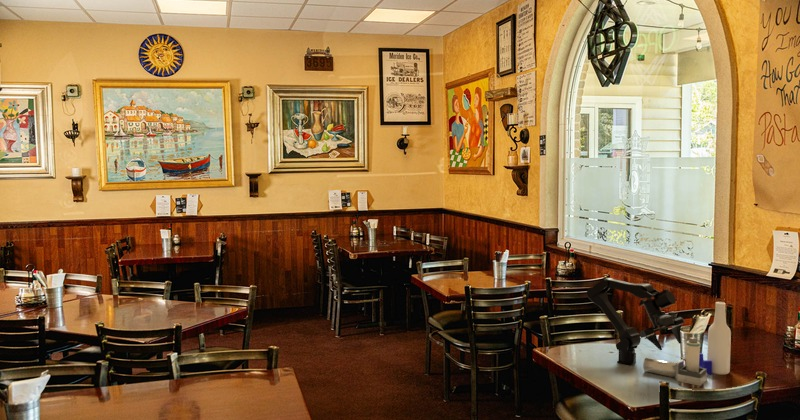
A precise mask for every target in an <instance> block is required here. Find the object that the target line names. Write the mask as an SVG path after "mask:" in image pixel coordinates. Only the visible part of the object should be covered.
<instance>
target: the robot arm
mask: <svg viewBox="0 0 800 420" xmlns="http://www.w3.org/2000/svg"><path fill="white" fill-rule="evenodd" d="M610 289H614V290H618V291H621V292H625V293H630V294H631V295H633V296H634V297H637V298H638V299H640V301H639V303H638V306H639V307H640V306H643V307H644V308H645V311H646V313H647V315H648V317H647V318H648V320H650V321H651V324H652V326H651V327H647V328H644V329H642V330H640V331H639V332H638V331H637V329H636V328H635V327H634V326H633V327H630V326H628V325H627V324H626V322H625V321H624V320H623V318H622V317H621V316H620V314H619V313H618V311H617V310H616V309H615V308H614V306H613V305H612V303H611V302H610V301H609V297H608V293H607V292H608V291H609V290H610ZM586 297H587V298H588V299H589V300H590V301H591V302H592V303H593V304H595V305H597V306H598V307H599V308H600V309H601V311H602V312H603V314H604V315H605V317H607V319H608V320H609V321H610V323H611V324H612V326H613V327H614V328H615V330H616V331H617V334H618V338H619V339H618V340H619V341H618V342H617V343H616V344H615V347H616V350H618V358H617V359H618V360H617V361H616V363H618V364H622V365H628V366H632V365H634V364H635V363H637V353H636V349H637V348H638V345H640V344H641V340H642V338H644V340H648V341H649V342H651V343H652V344H653V345H654V346H655V347H656V348H657V349H658V350H659V351H662V350H663V348H662V345H661V343H660V341H659V340H658V337H657V333H655V332H659V331H662V330H665V329H667V328H670V327H671V328H670V330H671V332H672V334H673V335H674V338H675V340H676V341H677V343H678V344H682V339H681V328H682V327H683V326H684V325H683V324H684V323H685V322H686V321H685V320H684V318H683V317H681V316H679V317H677V315H676V313H675V311H669V312H668V314H666V312H665V311H664V310H663V311H662V309H666V308H668V307H669V306H670V307H671V306H673V305H675V304H676V303H677V299H676V296H675V295H674V294H673V292H671V291H670V290H669V289H668V288H665V289H662V290H661V291H659V290H657V289H655V288H654V286H653V285H652V284H650V283H633V282H627V281H624V280H619V279H615V278H612V277H606V278H603V279H602V280H601V281H599V282H598V283H596V284H594V285H593V286H591V287H589V288H587V289H586Z"/></svg>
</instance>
